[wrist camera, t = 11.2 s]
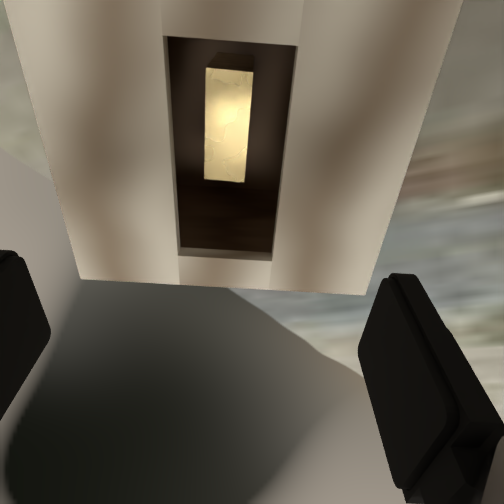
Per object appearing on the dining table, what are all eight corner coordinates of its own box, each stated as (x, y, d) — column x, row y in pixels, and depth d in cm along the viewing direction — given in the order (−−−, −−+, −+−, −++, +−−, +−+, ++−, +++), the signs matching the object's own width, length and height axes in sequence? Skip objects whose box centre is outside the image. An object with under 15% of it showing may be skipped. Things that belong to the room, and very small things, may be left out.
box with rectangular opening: (373, -6, 22) (466, -10, 12) (330, 198, 30) (364, 295, 20) (111, -27, 22) (-11, -49, 12) (139, 186, 30) (80, 278, 20)
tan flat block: (244, 182, 21) (246, 146, 27) (253, 72, 18) (254, 55, 23) (204, 178, 21) (214, 143, 27) (205, 67, 18) (217, 51, 23)
